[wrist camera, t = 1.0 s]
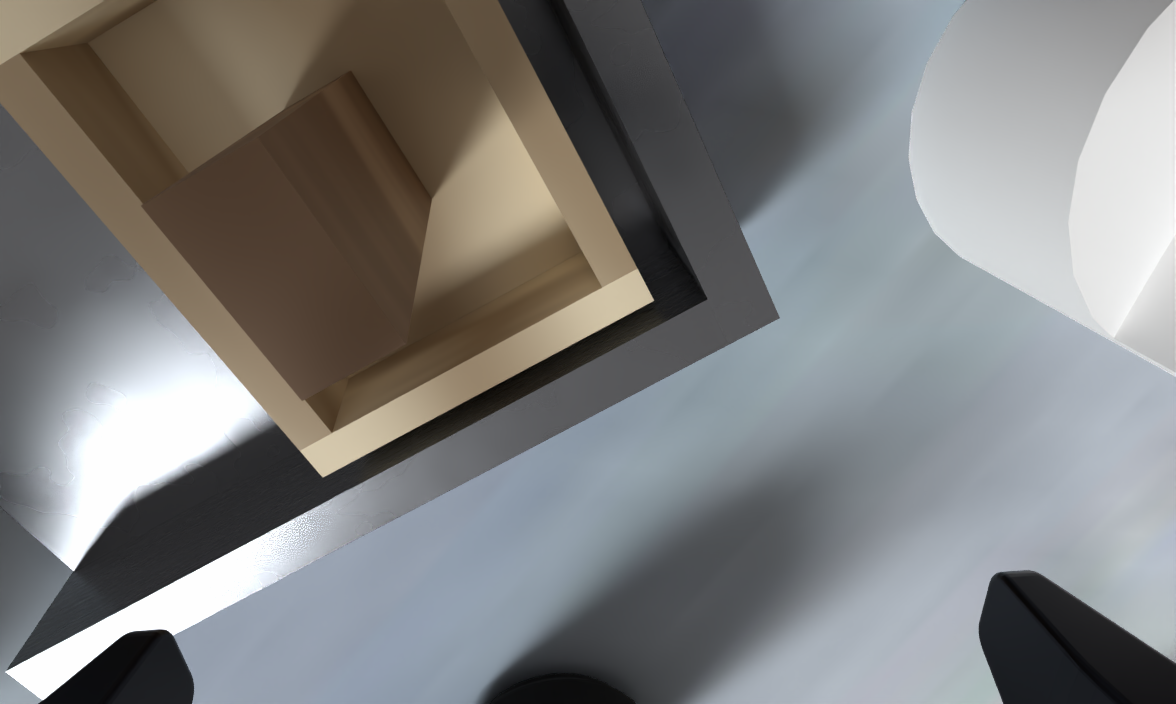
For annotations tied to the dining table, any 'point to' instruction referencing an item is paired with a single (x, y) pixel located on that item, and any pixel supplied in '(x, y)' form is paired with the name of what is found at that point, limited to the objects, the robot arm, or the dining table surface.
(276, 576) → the bay
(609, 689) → the beverage can
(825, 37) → the dining table surface
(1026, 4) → the white stepped block
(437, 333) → the box
